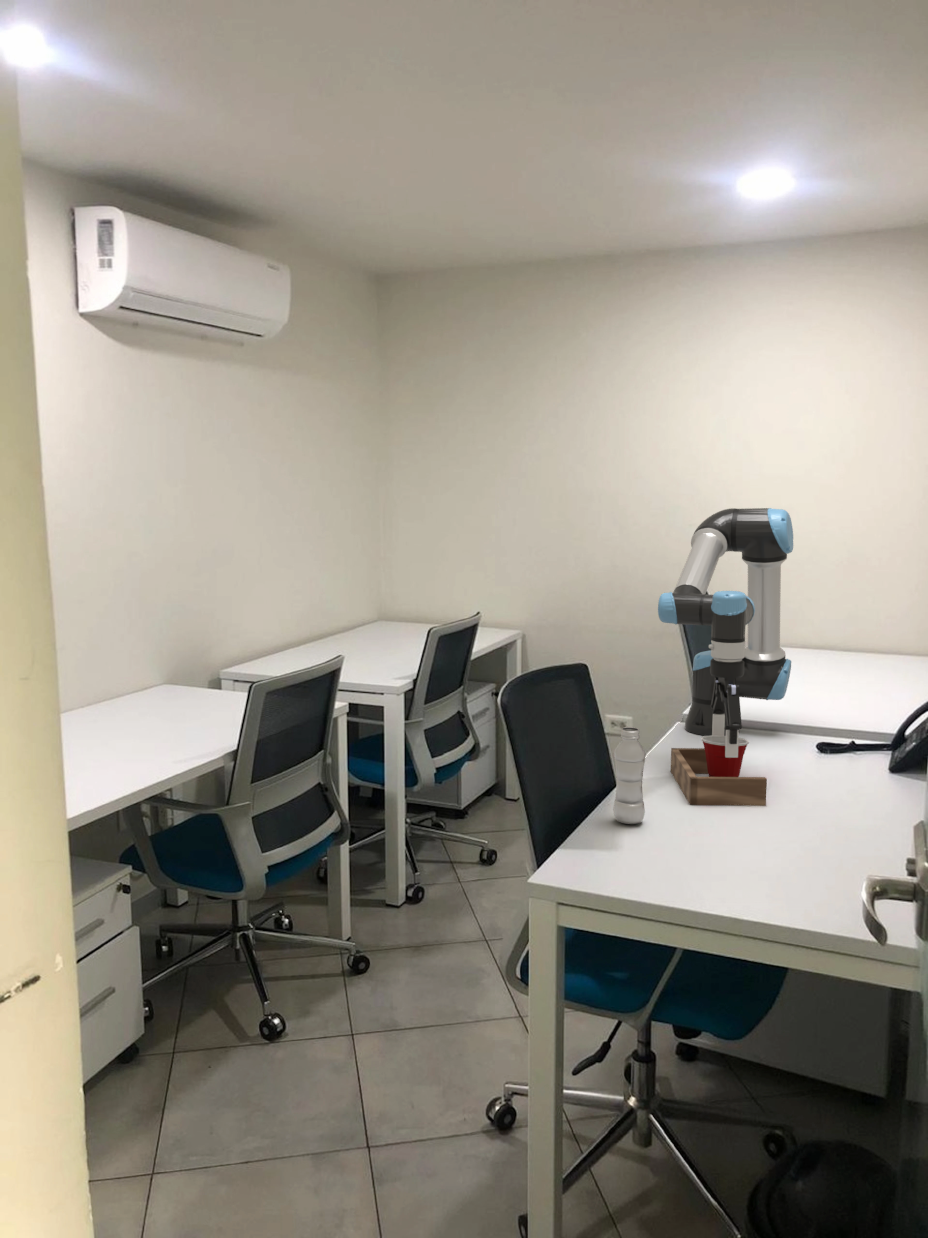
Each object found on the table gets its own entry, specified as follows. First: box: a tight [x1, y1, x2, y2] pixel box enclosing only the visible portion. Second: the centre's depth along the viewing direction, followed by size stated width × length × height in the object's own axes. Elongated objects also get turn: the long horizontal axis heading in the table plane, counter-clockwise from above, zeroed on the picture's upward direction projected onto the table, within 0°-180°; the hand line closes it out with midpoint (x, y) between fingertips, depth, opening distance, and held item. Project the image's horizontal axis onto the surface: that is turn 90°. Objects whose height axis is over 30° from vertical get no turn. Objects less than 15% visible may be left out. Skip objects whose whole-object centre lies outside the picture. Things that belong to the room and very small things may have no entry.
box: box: [670, 747, 768, 807], centre depth 221 cm, size 25×16×6 cm, turn 178°
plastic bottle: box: [612, 726, 646, 825], centre depth 198 cm, size 6×7×20 cm
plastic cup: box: [700, 735, 750, 777], centre depth 221 cm, size 11×11×12 cm
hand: (724, 749), depth 221 cm, fingers open, 13 cm apart
